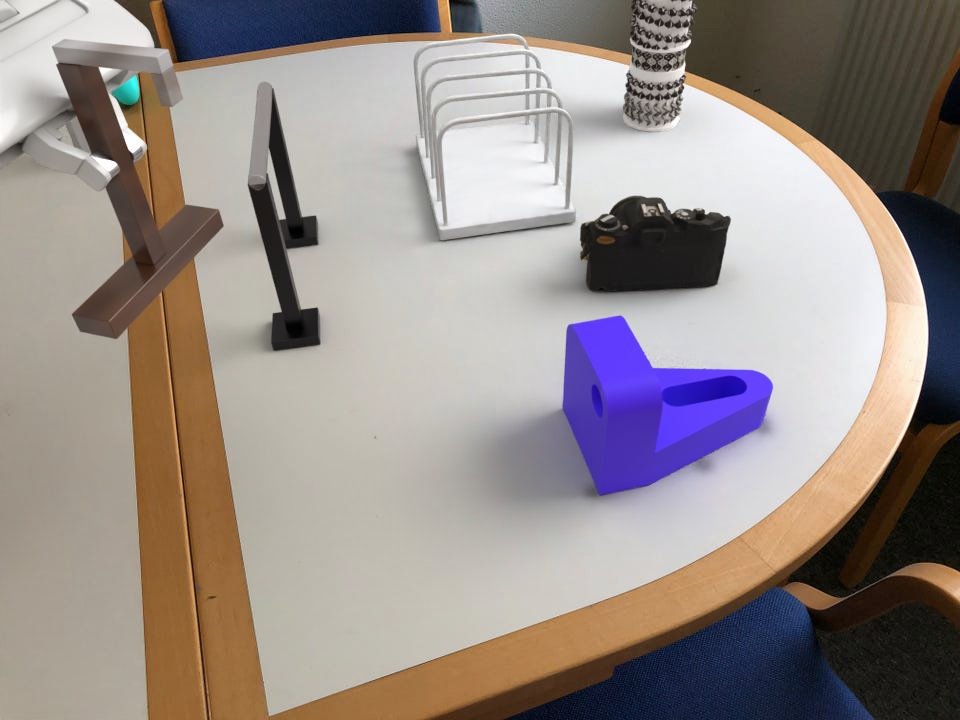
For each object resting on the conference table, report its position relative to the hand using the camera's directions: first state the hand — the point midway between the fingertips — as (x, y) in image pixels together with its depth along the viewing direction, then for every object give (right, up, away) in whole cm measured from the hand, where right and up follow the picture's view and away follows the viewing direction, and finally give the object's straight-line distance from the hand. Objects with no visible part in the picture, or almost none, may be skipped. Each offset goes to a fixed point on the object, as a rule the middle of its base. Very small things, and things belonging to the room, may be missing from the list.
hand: (124, 170), depth 52 cm
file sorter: (+25, +12, +56) cm, 63 cm away
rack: (+2, -3, +41) cm, 42 cm away
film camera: (+42, -2, +41) cm, 59 cm away
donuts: (-38, +29, +79) cm, 92 cm away
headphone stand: (+2, -7, +6) cm, 9 cm away
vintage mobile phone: (-34, +17, +66) cm, 76 cm away
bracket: (+41, -19, +22) cm, 51 cm away
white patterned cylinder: (+49, +24, +68) cm, 88 cm away
